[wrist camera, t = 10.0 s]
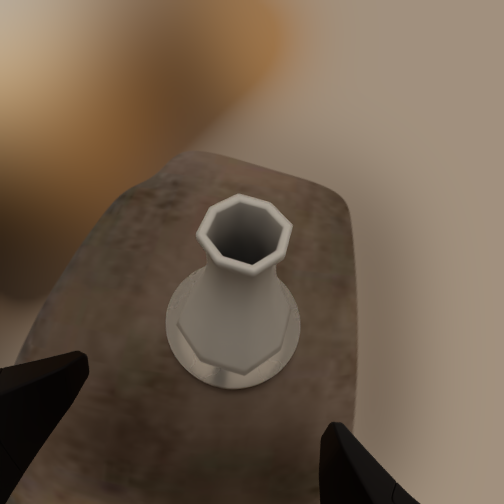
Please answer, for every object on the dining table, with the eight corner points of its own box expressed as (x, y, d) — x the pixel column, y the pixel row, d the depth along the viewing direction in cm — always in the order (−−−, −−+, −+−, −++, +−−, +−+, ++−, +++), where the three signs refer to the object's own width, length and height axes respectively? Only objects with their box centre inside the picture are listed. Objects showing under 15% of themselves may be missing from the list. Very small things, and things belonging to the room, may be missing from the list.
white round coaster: (292, 391, 18) (301, 388, 16) (166, 383, 17) (158, 380, 15) (290, 280, 23) (297, 265, 21) (180, 272, 22) (175, 256, 20)
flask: (307, 308, 19) (372, 219, 10) (247, 395, 15) (277, 383, 7) (224, 253, 20) (227, 140, 12) (158, 327, 17) (100, 244, 9)
